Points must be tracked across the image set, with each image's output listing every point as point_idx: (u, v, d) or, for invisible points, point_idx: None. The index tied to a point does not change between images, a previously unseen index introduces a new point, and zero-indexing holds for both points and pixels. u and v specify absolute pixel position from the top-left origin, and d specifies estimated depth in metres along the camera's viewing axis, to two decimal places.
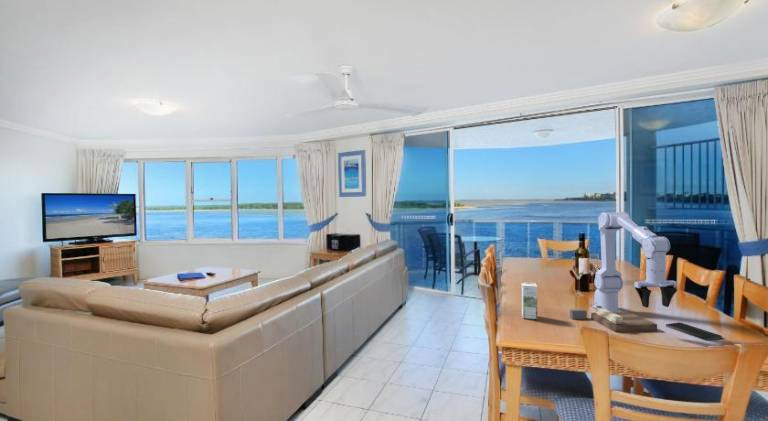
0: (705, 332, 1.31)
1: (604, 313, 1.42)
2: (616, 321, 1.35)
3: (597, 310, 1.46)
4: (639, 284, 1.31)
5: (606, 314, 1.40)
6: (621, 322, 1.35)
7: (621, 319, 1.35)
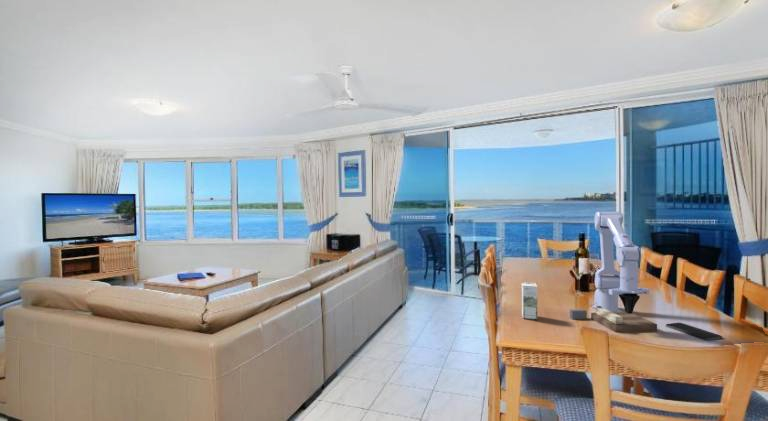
0: (705, 332, 1.31)
1: (604, 313, 1.42)
2: (616, 321, 1.35)
3: (597, 310, 1.46)
4: (613, 291, 1.37)
5: (606, 314, 1.40)
6: (621, 322, 1.35)
7: (621, 319, 1.35)
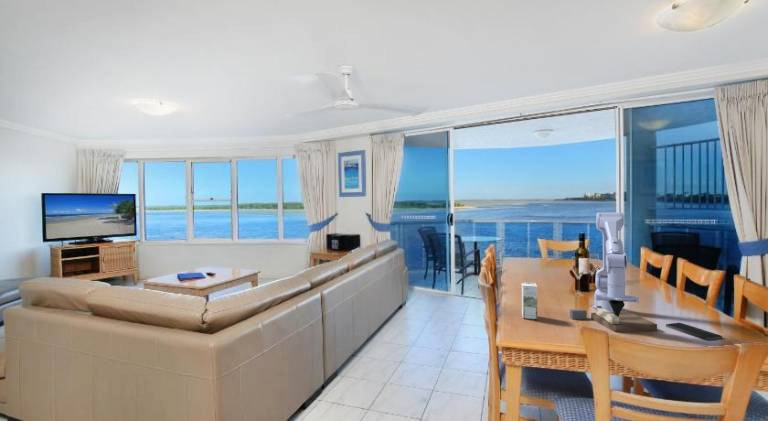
0: (705, 332, 1.31)
1: (602, 313, 1.42)
2: (612, 321, 1.35)
3: (597, 310, 1.46)
4: (597, 297, 1.39)
5: (604, 314, 1.41)
6: (618, 322, 1.35)
7: (618, 319, 1.35)
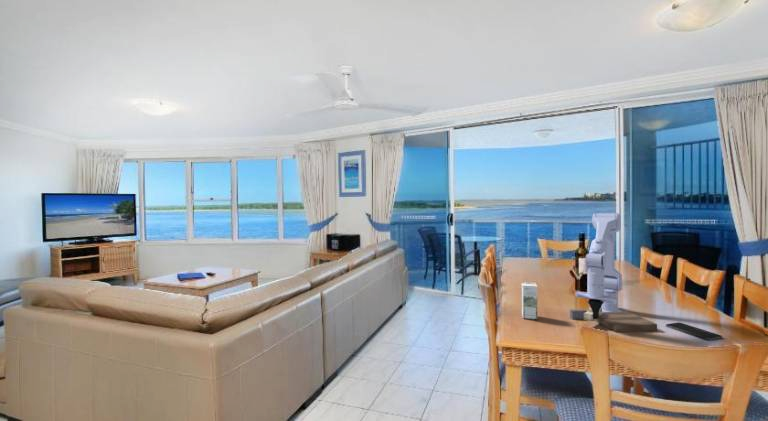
0: (705, 332, 1.31)
1: None
2: (584, 317, 1.40)
3: None
4: (576, 293, 1.45)
5: None
6: (589, 319, 1.39)
7: (589, 316, 1.39)
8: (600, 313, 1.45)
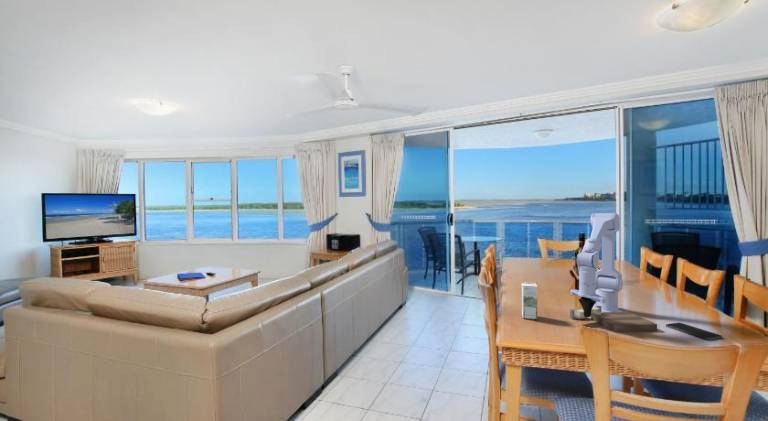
0: (705, 332, 1.31)
1: None
2: (574, 314, 1.44)
3: None
4: (571, 291, 1.48)
5: None
6: (578, 316, 1.42)
7: (578, 314, 1.42)
8: (598, 313, 1.45)
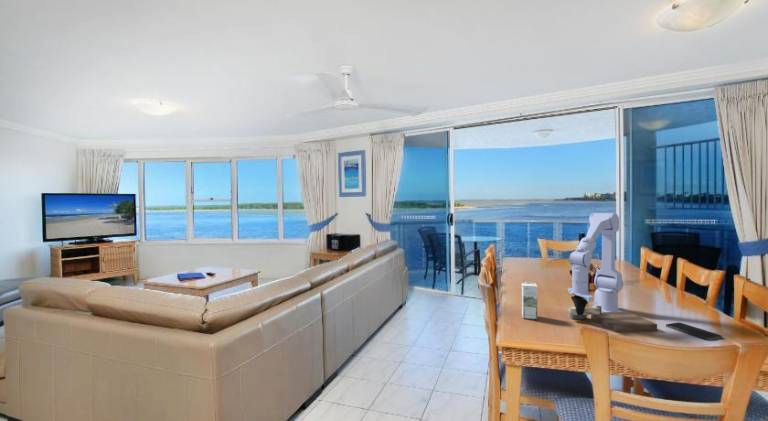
0: (705, 332, 1.31)
1: None
2: (567, 311, 1.48)
3: None
4: (568, 289, 1.52)
5: None
6: (569, 313, 1.47)
7: (570, 310, 1.46)
8: (595, 312, 1.46)
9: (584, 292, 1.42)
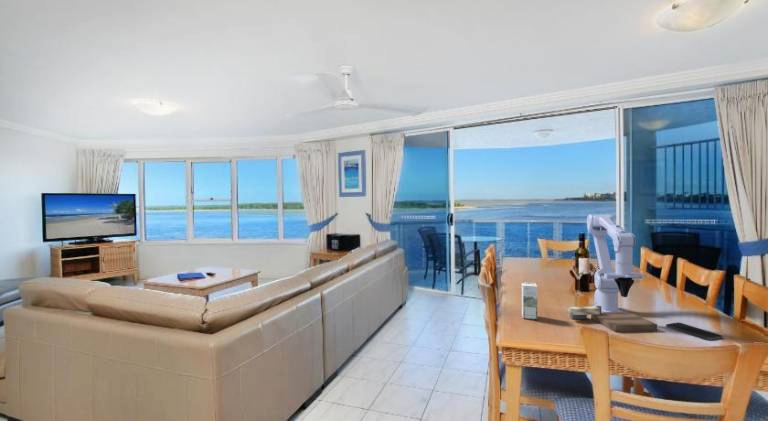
0: (705, 332, 1.31)
1: None
2: (567, 311, 1.48)
3: None
4: (607, 275, 1.44)
5: None
6: (569, 313, 1.47)
7: (570, 310, 1.46)
8: (595, 312, 1.46)
9: None
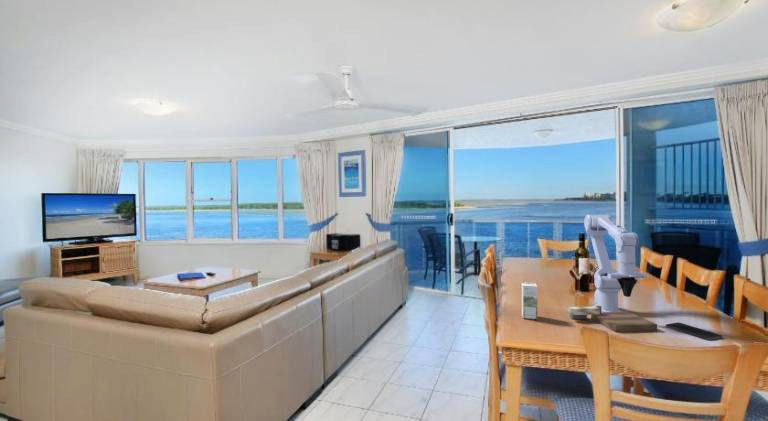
0: (705, 332, 1.31)
1: None
2: (567, 311, 1.48)
3: None
4: (611, 275, 1.44)
5: None
6: (569, 313, 1.47)
7: (570, 310, 1.46)
8: (595, 312, 1.46)
9: None
